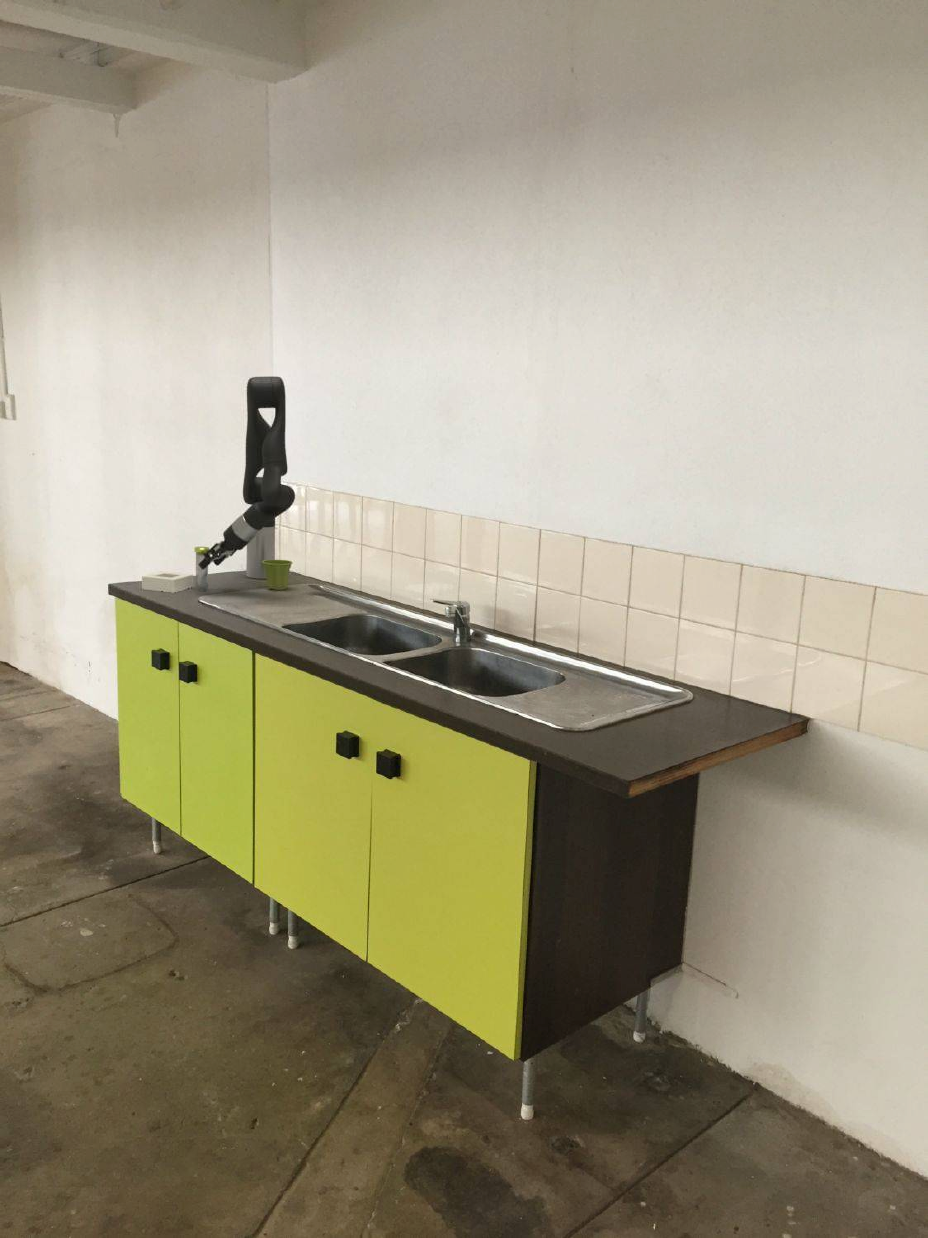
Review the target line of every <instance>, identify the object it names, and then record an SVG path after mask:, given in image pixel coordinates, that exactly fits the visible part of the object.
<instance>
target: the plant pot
mask: <svg viewBox="0 0 928 1238" xmlns="http://www.w3.org/2000/svg"><path fill="white" fill-rule="evenodd" d="M262 563H263V564H264V568H265V573H266V579H265V580H266V587H267V589H268V590H274V591H283V590H287V589H288V582H289V577H290V571H291V568H292V564H293V561H291V560H287V559H275V560H264V561H262Z"/></svg>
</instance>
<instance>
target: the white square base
mask: <svg viewBox="0 0 928 1238" xmlns="http://www.w3.org/2000/svg"><path fill="white" fill-rule="evenodd" d="M191 587H193V588H194V574H189V573H181V572H173V571H158V572H154V573H150V574H146V575H142V576H141V589H142V590H146V591H152V592H153V591H154V592H161V591H163V593H169V592H170V593H171V594H175V592H176V593H178V591H179V592H182V591H186V590H189V589H192V588H191ZM188 588H189V589H188ZM185 589H186V590H185Z"/></svg>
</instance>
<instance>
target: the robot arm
mask: <svg viewBox="0 0 928 1238" xmlns="http://www.w3.org/2000/svg"><path fill="white" fill-rule="evenodd" d="M286 399H287V397H286V387H285V382H284V379H283V378H282V377H281V376H252V377H250V378H249V379H248V381H247V384H246V409H247V410H246V412H247V414H246V415H247V416H246V417H247V421H246V434H245V466H244V467H245V468H244V475H243V476H244V477H243V484H242V498H243V501H244V503H245V504H246V505H250V506H249V507H248V508H247V509H246V510H245V511H244V513H242V514H240V516H238V517H237V518H236V519H235V520H234V521H232V523H231V524H230V525H229V526H228V527H227V528H226V529H225V530H224V531H223V534H222V535H223V539H224V540H220V542H216V543H215V544H214V545H213V546H211V547H210V548H209V551H208V552H206V553H205V554H204V557H205V558H204V559H203V560H202V561H201V562H200V563H199V566H200V567H201V569H205V568H206V567H207V566H208V567H209V565H210V564H211V563H213V564H214V565H216V567H218V566H220V565H221V564H222V563H223V562H224V561H225V560H227V559H228V558H230V557H233V555H234V554H235V553H236V552H237V551H241V550H243V549H244V548H246V570H245V571H246V575H245V576H246V577H247V578H249V579H259V580H261V579H262V580H264V579H265V580H266V573H265V568H264V564H263V563H262V561H264V560H276V518H277V517H279V516H281V515H282V514H283V513H284V512H286V511H288V510H289V509H290V508H291V507H292V505H293V504H294V502H295V499H296V492H295V490H294V489H293V488H292V487H291V486H290V485H286V484H283V483H282V482H281V481H282V477H284V476H286V475H287V473H288V460H287V459H288V458H287V449H286V423H287V422H286V421H287V420H286V418H287V417H286V410H287V409H286V408H287V407H286V404H287V403H286ZM259 409H274V410H275V411H274V419H273V422H272V424H271V425H270V424H269V423H268V422H267V420H265V418H264V417H263V415H262V414H261V412H260V410H259ZM262 470H263V473H262V476H258V475H259V473H260V472H261V471H262Z"/></svg>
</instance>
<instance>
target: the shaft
mask: <svg viewBox="0 0 928 1238" xmlns="http://www.w3.org/2000/svg"><path fill="white" fill-rule="evenodd" d="M209 550H210V547H209V546H195V547H194V553H195V591H196V590H197V592H208V591H209V584H208V583H209V565H208V566H207V567H206V568H205V569H201V567H200V566H199V563H200V562H201V561H202V560H203V559H204V558H205V557H204V554H205V553H206V552H208V551H209Z"/></svg>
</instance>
